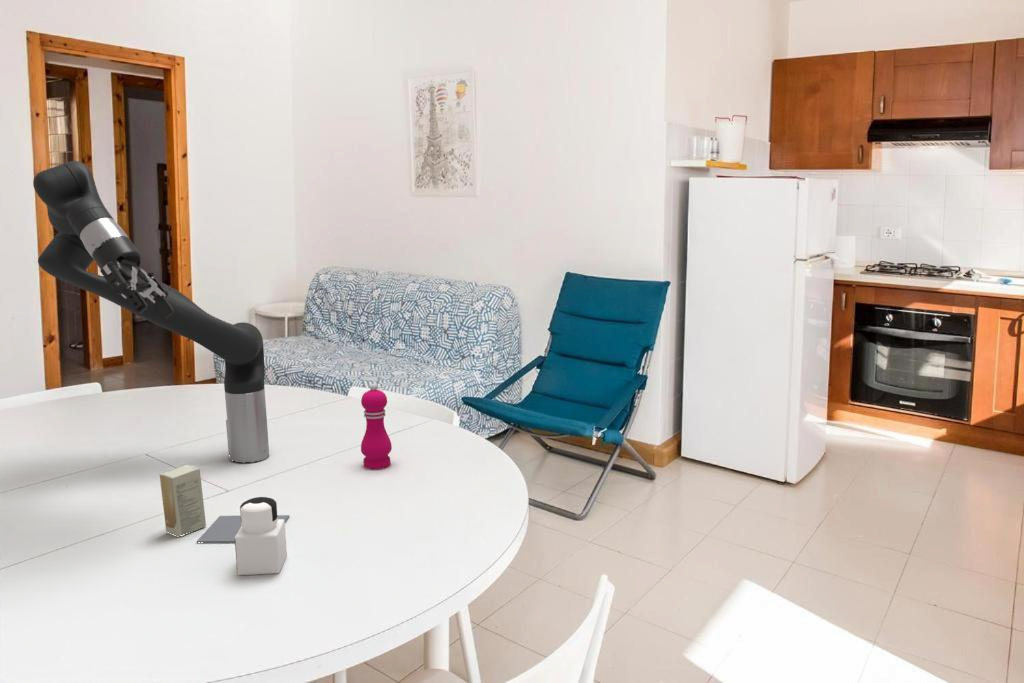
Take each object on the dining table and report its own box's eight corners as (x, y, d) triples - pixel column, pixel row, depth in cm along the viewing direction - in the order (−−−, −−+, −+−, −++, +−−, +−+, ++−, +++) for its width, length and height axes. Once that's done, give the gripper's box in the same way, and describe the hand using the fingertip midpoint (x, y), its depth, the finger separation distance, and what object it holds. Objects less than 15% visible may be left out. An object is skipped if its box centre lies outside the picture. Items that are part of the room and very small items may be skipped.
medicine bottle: (246, 557, 146) (241, 494, 144) (287, 555, 146) (283, 492, 144) (237, 576, 139) (231, 509, 137) (279, 574, 139) (274, 508, 137)
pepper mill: (386, 471, 189) (382, 387, 186) (356, 469, 191) (352, 386, 187) (396, 461, 196) (393, 380, 193) (368, 459, 198) (364, 379, 194)
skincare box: (193, 522, 162) (188, 463, 159) (207, 527, 159) (201, 467, 157) (164, 533, 156) (158, 473, 154) (177, 538, 154) (171, 477, 152)
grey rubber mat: (196, 543, 152) (196, 541, 152) (220, 517, 164) (219, 515, 164) (271, 542, 152) (271, 540, 152) (289, 517, 163) (289, 515, 163)
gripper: (119, 266, 163) (164, 328, 161) (70, 253, 149) (118, 322, 147) (147, 242, 162) (192, 304, 160) (100, 227, 148) (149, 295, 146)
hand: (157, 312), depth 153 cm, fingers open, 8 cm apart
